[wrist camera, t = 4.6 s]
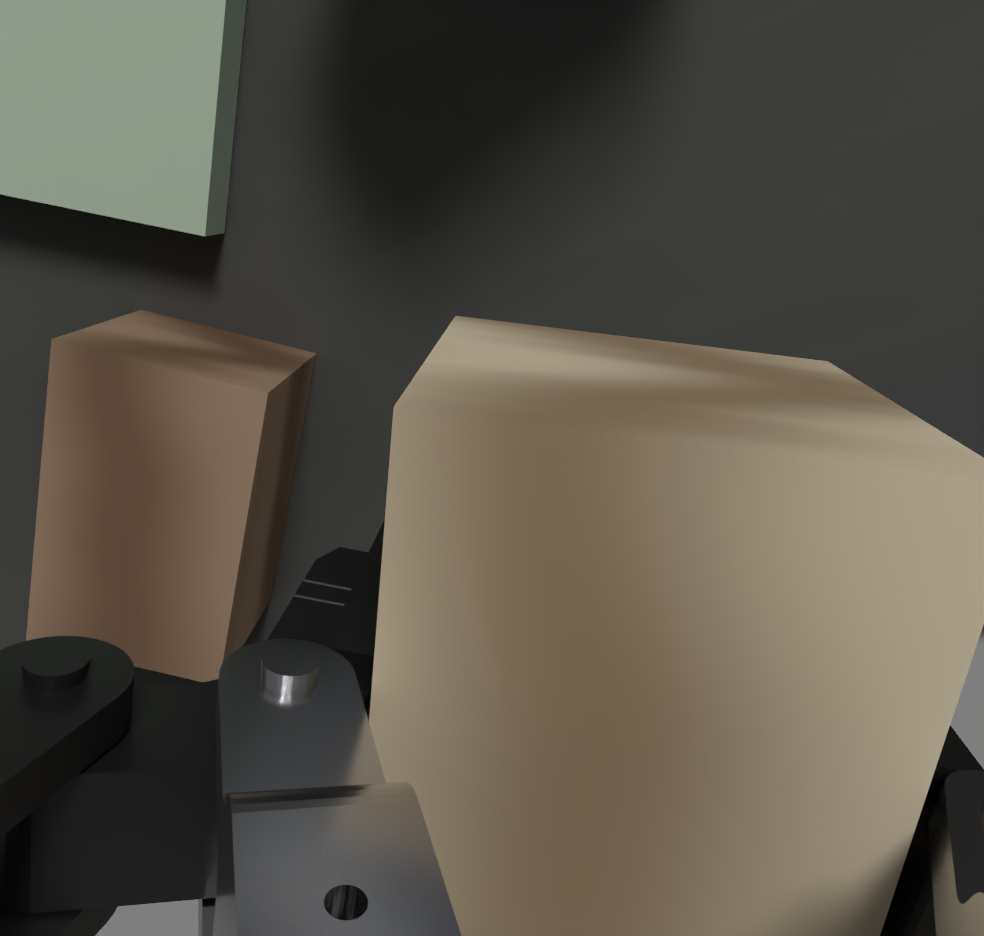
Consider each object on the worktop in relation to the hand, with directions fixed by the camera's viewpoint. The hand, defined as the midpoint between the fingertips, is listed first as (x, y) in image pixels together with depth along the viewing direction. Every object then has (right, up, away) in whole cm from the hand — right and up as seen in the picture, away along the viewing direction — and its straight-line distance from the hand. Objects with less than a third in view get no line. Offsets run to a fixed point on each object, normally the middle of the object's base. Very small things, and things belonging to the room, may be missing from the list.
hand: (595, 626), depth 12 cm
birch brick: (0, 0, +1) cm, 1 cm away
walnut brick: (-10, +2, +13) cm, 17 cm away
